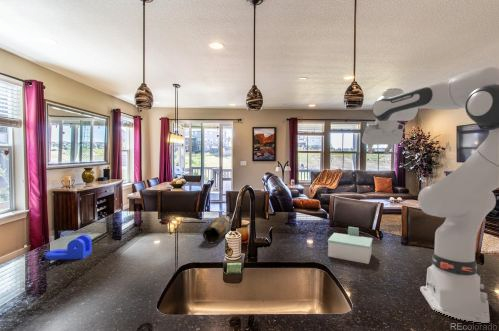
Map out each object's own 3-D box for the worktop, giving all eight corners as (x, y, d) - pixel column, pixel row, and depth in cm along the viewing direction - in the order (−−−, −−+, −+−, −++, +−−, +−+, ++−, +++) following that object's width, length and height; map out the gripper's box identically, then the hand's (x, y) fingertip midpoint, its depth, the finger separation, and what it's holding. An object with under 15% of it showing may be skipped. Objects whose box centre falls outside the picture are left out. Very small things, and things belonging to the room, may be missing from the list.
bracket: (91, 252, 133) (91, 234, 132) (83, 259, 124) (83, 239, 124) (52, 253, 131) (52, 235, 131) (41, 260, 123) (40, 240, 122)
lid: (369, 250, 121) (370, 238, 121) (327, 243, 130) (327, 232, 130) (373, 239, 136) (373, 229, 136) (335, 234, 145) (335, 224, 145)
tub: (368, 263, 122) (369, 248, 121) (328, 256, 130) (328, 242, 130) (371, 254, 134) (371, 240, 134) (334, 248, 142) (334, 234, 142)
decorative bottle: (223, 239, 145) (241, 219, 189) (213, 222, 146) (234, 206, 190) (206, 248, 147) (228, 226, 191) (197, 230, 148) (221, 213, 192)
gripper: (371, 125, 120) (365, 155, 124) (407, 126, 126) (400, 154, 130) (362, 122, 125) (356, 151, 130) (397, 123, 131) (390, 150, 136)
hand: (378, 153), depth 130 cm, fingers open, 8 cm apart
